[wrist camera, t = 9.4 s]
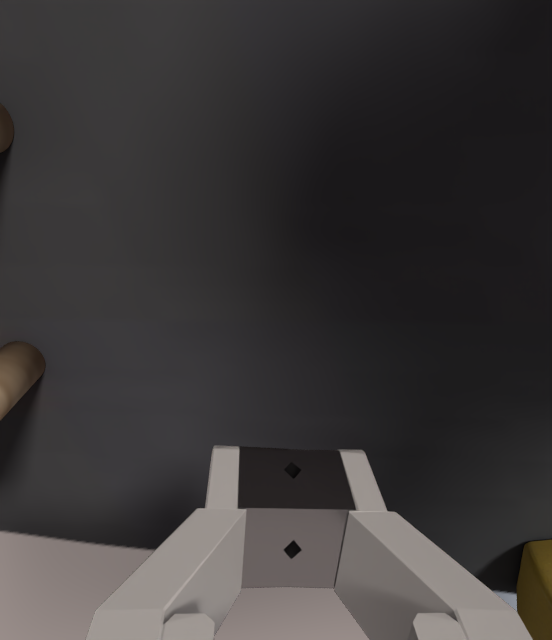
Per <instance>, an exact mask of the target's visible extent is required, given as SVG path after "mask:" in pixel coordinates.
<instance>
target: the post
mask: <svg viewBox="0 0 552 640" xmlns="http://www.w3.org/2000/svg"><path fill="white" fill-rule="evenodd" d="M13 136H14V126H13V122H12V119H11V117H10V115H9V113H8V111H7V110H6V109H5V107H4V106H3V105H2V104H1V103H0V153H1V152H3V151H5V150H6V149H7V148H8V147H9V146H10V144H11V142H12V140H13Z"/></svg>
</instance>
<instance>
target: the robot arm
mask: <svg viewBox="0 0 552 640" xmlns="http://www.w3.org/2000/svg"><path fill="white" fill-rule="evenodd" d="M262 587H263V588H264V587H309V588H335V590H334V591H335V592H336V594H337V595H338V597H339V598H340V599H341V601H342V602H343V604H344V605H345V606H346V608H347V609H348V610H349V612H350V613H351V615H352V616H353V617H354V618H355V620H356V621H357V623H358V624H359V625H360V627H361V628H362V630H363V631H364V632H365V634H366V635H367V637H368V638H369V639H370V640H533V639H532V637H531V636H530V634H529V632H528V630H527V629H526V627H525V625H524V623H523V622H522V620H521V618H520V616H519V615H518V613H517V611H515V609H513V608H512V607H511V606H510V605H508V604H507V603H506V602H505V601H504V600H502V599H501V598H500V597H499V596H497V595H496V594H495V593H494V592H493V591H491V590H490V589H489V588H488V587H486V586H485V585H484V584H483V583H482V582H480V581H479V580H478V579H477V578H476V577H474V576H473V575H472V574H471V573H469V572H468V571H467V570H466V569H465V568H463V567H462V566H461V565H460V564H458V563H457V562H456V561H455V560H454V559H452V558H451V557H450V556H449V555H447V554H446V553H445V552H444V551H443V550H441V549H440V548H439V547H438V546H436V545H435V544H434V543H433V542H432V541H430V540H429V539H428V538H427V537H425V536H424V535H423V534H422V533H421V532H419V531H418V530H417V529H416V528H414V527H413V526H412V525H411V524H410V523H408V522H407V521H406V520H405V519H404V518H402V517H401V516H400V515H399V514H397V513H396V512H388V511H387V509H386V506H385V503H384V501H383V498H382V496H381V493H380V490H379V488H378V485H377V483H376V480H375V477H374V475H373V472H372V470H371V467H370V464H369V462H368V459H367V457H366V454H365V452H364V451H363V450H302V449H281V448H261V447H242V446H240V452H239V447H238V446H214V447H213V450H212V456H211V464H210V472H209V480H208V488H207V496H206V504H205V508H197V509H196V510H195V511H194V512H193V513H192V514H191V515H190V516H189V517H188V518H187V519H186V520H185V521H184V522H183V523H182V524H181V525H180V526H179V527H178V528H177V529H176V530H175V531H174V532H173V533H172V534H171V535H170V536H169V537H168V538H167V539H166V540H165V541H164V542H163V543H162V544H161V545H160V546H159V547H158V548H157V549H156V550H155V551H154V552H153V553H152V554H151V555H150V556H149V557H148V558H147V559H146V560H145V561H144V562H143V563H142V564H141V565H140V566H139V567H138V568H137V569H136V570H135V571H134V572H133V573H132V574H131V575H130V576H129V577H128V578H127V579H126V580H125V582H123V583H122V584H121V585H120V586H119V587H118V588H117V589H116V590H115V591H114V592H113V593H112V594H111V595H110V596H109V598H108V599H106V600H105V601H104V603H102V605H100V606H99V607H98V608H97V609H96V611H95V613H94V616H93V619H92V622H91V625H90V628H89V631H88V634H87V637H86V640H214V636H215V634H216V632H217V631H218V629H219V627H220V626H221V624H222V622H223V621H224V619H225V617H226V616H227V614H228V612H229V611H230V609H231V607H232V606H233V604H234V602H235V600H236V599H237V597H238V595H239V594H240V592H241V588H262Z"/></svg>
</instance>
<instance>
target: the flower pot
mask: <svg viewBox="0 0 552 640" xmlns="http://www.w3.org/2000/svg"><path fill="white" fill-rule="evenodd" d="M517 612H518V615H519V616H520V618H521V620H522V622H523V623H524V625H525V627H526V629H527V630H528V632H529V634H530V636H531V637H532V639H533V640H552V540H542V541H532V542H528V543H526V544H525V546H524V549H523V554H522V559H521V566H520V571H519V576H518V582H517Z"/></svg>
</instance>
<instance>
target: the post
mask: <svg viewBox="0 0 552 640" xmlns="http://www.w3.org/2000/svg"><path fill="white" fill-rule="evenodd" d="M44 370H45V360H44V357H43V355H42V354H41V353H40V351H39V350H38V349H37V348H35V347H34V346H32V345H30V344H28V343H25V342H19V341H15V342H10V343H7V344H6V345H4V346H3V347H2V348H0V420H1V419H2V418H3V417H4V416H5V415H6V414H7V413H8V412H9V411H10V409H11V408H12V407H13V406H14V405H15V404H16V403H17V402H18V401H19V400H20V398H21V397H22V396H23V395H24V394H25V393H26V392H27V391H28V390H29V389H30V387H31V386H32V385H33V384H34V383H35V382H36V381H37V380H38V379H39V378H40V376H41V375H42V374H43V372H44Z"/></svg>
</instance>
